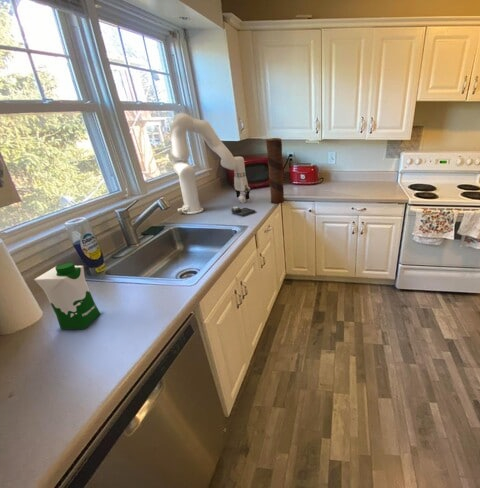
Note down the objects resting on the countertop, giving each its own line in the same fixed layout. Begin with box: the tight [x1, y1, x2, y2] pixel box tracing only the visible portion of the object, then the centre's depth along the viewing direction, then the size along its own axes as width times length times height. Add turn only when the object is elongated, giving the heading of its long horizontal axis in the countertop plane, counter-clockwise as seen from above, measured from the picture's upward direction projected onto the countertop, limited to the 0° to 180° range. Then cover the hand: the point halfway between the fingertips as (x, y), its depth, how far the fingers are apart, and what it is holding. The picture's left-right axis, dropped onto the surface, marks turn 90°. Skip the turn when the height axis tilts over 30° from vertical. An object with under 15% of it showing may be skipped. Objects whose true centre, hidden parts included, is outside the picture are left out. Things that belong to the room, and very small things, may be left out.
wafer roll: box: [265, 137, 285, 204], centre depth 200 cm, size 10×11×45 cm
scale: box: [230, 207, 256, 218], centre depth 185 cm, size 12×11×3 cm
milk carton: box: [33, 261, 101, 330], centre depth 83 cm, size 9×9×20 cm
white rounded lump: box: [237, 192, 247, 204], centre depth 206 cm, size 6×6×7 cm
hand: (243, 198), depth 207 cm, fingers open, 9 cm apart
